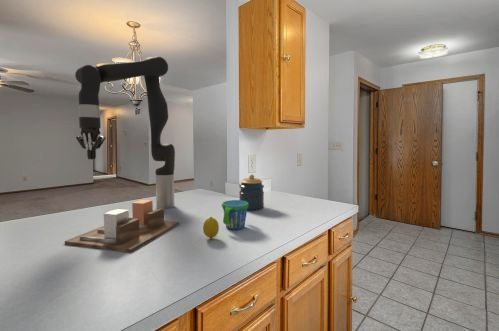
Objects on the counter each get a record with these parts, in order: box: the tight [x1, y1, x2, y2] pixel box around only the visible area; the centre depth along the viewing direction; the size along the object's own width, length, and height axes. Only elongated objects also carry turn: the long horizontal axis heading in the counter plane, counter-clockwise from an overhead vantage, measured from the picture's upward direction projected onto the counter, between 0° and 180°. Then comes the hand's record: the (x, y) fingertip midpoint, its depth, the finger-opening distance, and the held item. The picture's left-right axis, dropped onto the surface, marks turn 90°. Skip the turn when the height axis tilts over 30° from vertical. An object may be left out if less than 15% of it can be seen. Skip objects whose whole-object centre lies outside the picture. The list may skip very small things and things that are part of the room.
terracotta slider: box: [131, 199, 154, 225], centre depth 109 cm, size 5×6×9 cm
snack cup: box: [221, 199, 249, 231], centre depth 109 cm, size 16×10×10 cm
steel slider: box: [103, 208, 130, 239], centre depth 94 cm, size 5×6×9 cm
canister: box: [238, 174, 265, 212], centre depth 141 cm, size 13×13×18 cm
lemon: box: [202, 216, 220, 240], centre depth 97 cm, size 6×6×8 cm
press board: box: [64, 208, 180, 253], centre depth 102 cm, size 26×30×7 cm
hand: (91, 159), depth 112 cm, fingers closed
